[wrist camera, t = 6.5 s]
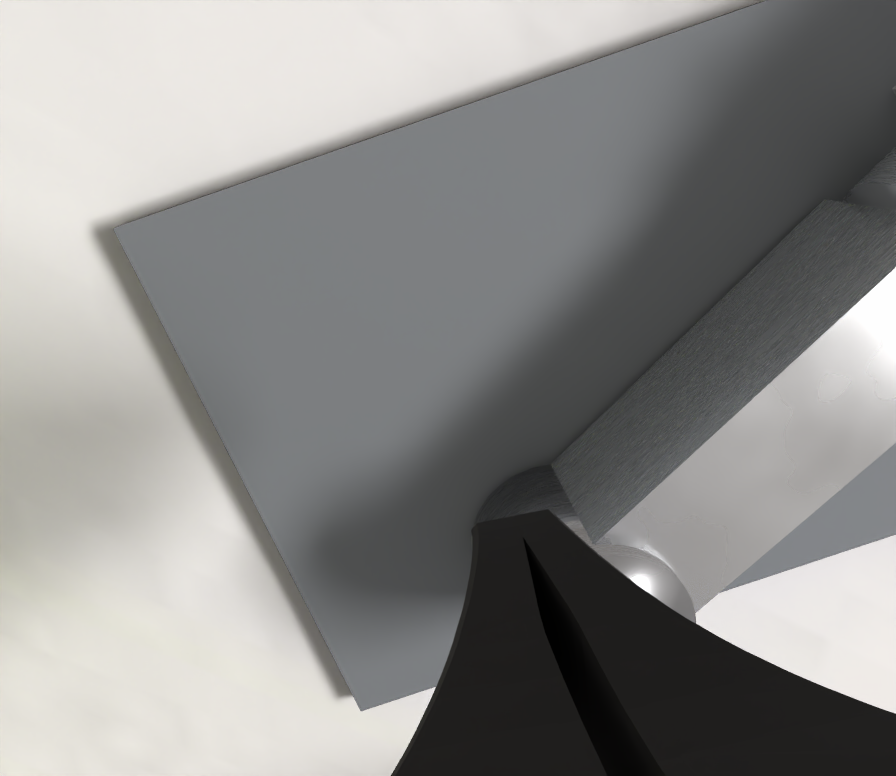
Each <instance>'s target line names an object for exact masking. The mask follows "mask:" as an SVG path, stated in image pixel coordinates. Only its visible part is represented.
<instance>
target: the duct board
mask: <svg viewBox="0 0 896 776" xmlns="http://www.w3.org/2000/svg"><path fill="white" fill-rule="evenodd" d="M895 147H896V0H766V1H763V2H760V3H757V4H754V5H751V6H748V7H746V8H743V9H740V10H737V11H734V12H731V13H728V14H725V15H723V16H720V17H717V18H714V19H711V20H708V21H705V22H702V23H700V24H697V25H694V26H691V27H688V28H685V29H682V30H680V31H677V32H674V33H671V34H668V35H665V36H662V37H659V38H657V39H654V40H651V41H648V42H645V43H642V44H639V45H637V46H634V47H631V48H628V49H625V50H622V51H619V52H616V53H614V54H611V55H608V56H605V57H602V58H599V59H596V60H593V61H591V62H588V63H585V64H582V65H579V66H576V67H573V68H571V69H568V70H565V71H562V72H559V73H556V74H553V75H550V76H548V77H545V78H542V79H539V80H536V81H533V82H530V83H527V84H525V85H522V86H519V87H516V88H513V89H510V90H507V91H505V92H502V93H499V94H496V95H493V96H490V97H487V98H484V99H482V100H479V101H476V102H473V103H470V104H467V105H464V106H462V107H459V108H456V109H453V110H450V111H447V112H444V113H441V114H439V115H436V116H433V117H430V118H427V119H424V120H421V121H418V122H416V123H413V124H410V125H407V126H404V127H401V128H398V129H396V130H393V131H390V132H387V133H384V134H381V135H378V136H375V137H373V138H370V139H367V140H364V141H361V142H358V143H355V144H353V145H350V146H347V147H344V148H341V149H338V150H335V151H332V152H330V153H327V154H324V155H321V156H318V157H315V158H312V159H309V160H307V161H304V162H301V163H298V164H295V165H292V166H289V167H287V168H284V169H281V170H278V171H275V172H272V173H269V174H266V175H264V176H261V177H258V178H255V179H252V180H249V181H246V182H244V183H241V184H238V185H235V186H232V187H229V188H226V189H223V190H221V191H218V192H215V193H212V194H209V195H206V196H203V197H200V198H198V199H195V200H192V201H189V202H186V203H183V204H180V205H178V206H175V207H172V208H169V209H166V210H163V211H160V212H157V213H155V214H152V215H149V216H146V217H143V218H140V219H137V220H134V221H132V222H129V223H126V224H123V225H120V226H118V227H115V228H113V230H114V232H115V234H116V236H117V238H118V240H119V242H120V244H121V245H122V247H123V249H124V251H125V253H126V255H127V257H128V259H129V261H130V263H131V265H132V267H133V269H134V271H135V273H136V275H137V277H138V279H139V281H140V282H141V284H142V286H143V288H144V290H145V292H146V294H147V296H148V298H149V300H150V302H151V304H152V306H153V308H154V310H155V312H156V314H157V316H158V317H159V319H160V321H161V323H162V325H163V327H164V329H165V331H166V333H167V335H168V337H169V339H170V341H171V343H172V345H173V347H174V349H175V351H176V353H177V354H178V356H179V358H180V360H181V362H182V364H183V366H184V368H185V370H186V372H187V374H188V376H189V378H190V380H191V382H192V384H193V386H194V388H195V389H196V391H197V393H198V395H199V397H200V399H201V401H202V403H203V405H204V407H205V409H206V411H207V413H208V415H209V417H210V419H211V421H212V423H213V425H214V426H215V428H216V430H217V432H218V434H219V436H220V438H221V440H222V442H223V444H224V446H225V448H226V450H227V452H228V454H229V456H230V458H231V460H232V461H233V463H234V465H235V467H236V469H237V471H238V473H239V475H240V477H241V479H242V481H243V483H244V485H245V487H246V489H247V491H248V493H249V495H250V497H251V498H252V500H253V502H254V504H255V506H256V508H257V510H258V512H259V514H260V516H261V518H262V520H263V522H264V524H265V526H266V528H267V530H268V532H269V533H270V535H271V537H272V539H273V541H274V543H275V545H276V547H277V549H278V551H279V553H280V555H281V557H282V559H283V561H284V563H285V565H286V567H287V569H288V570H289V572H290V574H291V576H292V578H293V580H294V582H295V584H296V586H297V588H298V590H299V592H300V594H301V596H302V598H303V600H304V602H305V604H306V605H307V607H308V609H309V611H310V613H311V615H312V617H313V619H314V621H315V623H316V625H317V627H318V629H319V631H320V633H321V635H322V637H323V639H324V641H325V642H326V644H327V646H328V648H329V650H330V652H331V654H332V656H333V658H334V660H335V662H336V664H337V666H338V668H339V670H340V672H341V674H342V676H343V677H344V679H345V681H346V683H347V685H348V687H349V689H350V691H351V693H352V695H353V697H354V699H355V701H356V703H357V705H358V707H359V709H360V711H364V710H367V709H370V708H373V707H376V706H379V705H382V704H385V703H388V702H391V701H394V700H397V699H400V698H403V697H406V696H409V695H412V694H415V693H418V692H421V691H424V690H427V689H430V688H433V687H436V686H437V684H438V681H439V679H440V676H441V674H442V671H443V669H444V666H445V663H446V661H447V658H448V655H449V652H450V649H451V646H452V643H453V640H454V636H455V633H456V630H457V626H458V623H459V619H460V616H461V613H462V609H463V605H464V600H465V596H466V591H467V586H468V581H469V576H470V569H471V561H472V544H471V541H472V532H471V530H472V528H473V526H474V523H475V520H476V517H477V515H478V513H479V511H480V509H481V507H482V505H483V504H484V503H485V501H486V500H487V498H488V497H489V496H490V495H491V494H492V493H493V492H494V491H495V490H496V489H497V488H498V487H499V486H500V485H502V484H503V483H504V482H506V481H507V480H509V479H510V478H512V477H513V476H515V475H517V474H519V473H521V472H523V471H526V470H529V469H531V468H535V467H539V466H542V465H549V464H552V463H553V462H554V461H555V460H556V459H557V458H558V457H559V456H560V455H561V454H562V453H563V452H564V451H565V450H566V449H567V448H568V447H569V446H570V445H571V444H572V443H573V442H574V441H575V440H576V439H577V438H578V437H579V436H580V435H582V434H583V433H584V432H585V431H586V430H587V429H588V428H589V427H590V426H591V425H592V424H593V423H594V422H595V421H596V420H597V419H598V418H599V417H600V416H601V415H602V414H603V413H604V412H605V411H606V410H607V409H608V408H609V407H610V406H611V405H613V404H614V403H615V402H616V401H617V400H618V399H619V398H620V397H621V396H622V395H623V394H624V393H625V392H626V391H627V390H628V389H629V388H630V387H631V386H632V385H633V384H634V383H635V382H636V381H637V380H638V379H639V378H640V377H641V376H642V375H644V374H645V373H646V372H647V371H648V370H649V369H650V368H651V367H652V366H653V365H654V364H655V363H656V362H657V361H658V360H659V359H660V358H661V357H662V356H663V355H664V354H665V353H666V352H667V351H668V350H669V349H670V348H671V347H672V346H673V345H675V344H676V343H677V342H678V341H679V340H680V339H681V338H682V337H683V336H684V335H685V334H686V333H687V332H688V331H689V330H690V329H691V328H692V327H693V326H694V325H695V324H696V323H697V322H698V321H699V320H700V319H701V318H702V317H703V316H704V315H706V314H707V313H708V312H709V311H710V310H711V309H712V308H713V307H714V306H715V305H716V304H717V303H718V302H719V301H720V300H721V299H722V298H723V297H724V296H725V295H726V294H727V293H728V292H729V291H730V290H731V289H732V288H733V287H734V286H735V285H737V284H738V283H739V282H740V281H741V280H742V279H743V278H744V277H745V276H746V275H747V274H748V273H749V272H750V271H751V270H752V269H753V268H754V267H755V266H756V265H757V264H758V263H759V262H760V261H761V260H762V259H763V258H764V257H765V256H766V255H767V254H769V253H770V252H771V251H772V250H773V249H774V248H775V247H776V246H777V245H778V244H779V243H780V242H781V241H782V240H783V239H784V238H785V237H786V236H787V235H788V234H789V233H790V232H791V231H792V230H793V229H794V228H795V227H796V226H797V225H798V224H800V223H801V222H802V221H803V220H804V219H805V218H806V217H807V216H808V215H809V214H810V213H811V212H812V211H813V210H814V209H815V208H816V207H817V206H818V205H819V204H820V203H821V202H822V201H823V200H824V199H826V200H833V201H839V202H843V200H844V197H845V195H846V194H847V193H848V192H849V191H850V190H851V189H852V188H853V187H854V186H855V185H856V184H857V183H858V182H859V181H860V180H861V179H862V178H863V177H864V176H865V175H866V174H867V173H869V172H870V171H871V170H872V169H873V168H874V167H875V166H876V165H877V164H878V163H879V162H880V161H881V160H882V159H883V158H884V157H885V156H886V155H887V154H888V153H889V152H890V151H891V150H892V149H893V148H895ZM893 535H896V443H895V444H894V445H892V446H891V447H890V448H889V449H888V450H887V451H885V452H884V453H883V454H882V455H881V456H879V457H878V458H877V459H876V460H875V461H874V462H872V463H871V464H870V465H869V466H868V467H867V468H865V469H864V470H863V471H862V472H861V473H859V474H858V475H857V476H856V477H855V478H854V479H852V480H851V481H850V482H849V483H848V484H847V485H845V486H844V487H843V488H842V489H841V490H840V491H838V492H837V493H836V494H835V495H834V496H832V497H831V498H830V499H829V500H828V501H827V502H825V503H824V504H823V505H822V506H821V507H820V508H818V509H817V510H816V511H815V512H814V513H812V514H811V515H810V516H809V517H808V518H807V519H805V520H804V521H803V522H802V523H801V524H800V525H798V526H797V527H796V528H795V529H794V530H793V531H791V532H790V533H789V534H788V535H787V536H785V537H784V538H783V539H782V540H781V541H780V542H778V543H777V544H776V545H775V546H774V547H773V548H771V549H770V550H769V551H768V552H767V553H765V554H764V555H763V556H762V557H761V558H760V559H758V560H757V561H756V562H755V563H754V564H753V565H751V566H750V567H749V568H748V569H747V570H746V571H744V572H743V573H742V574H741V575H740V576H738V577H737V578H736V579H735V580H734V581H733V582H731V583H730V584H729V585H728V586H727V587H726V588H724V589H723V590H722V591H721V592H723V591H726V590H729V589H732V588H735V587H739V586H742V585H745V584H748V583H751V582H754V581H757V580H760V579H763V578H766V577H769V576H772V575H775V574H778V573H781V572H784V571H787V570H790V569H793V568H796V567H799V566H802V565H805V564H808V563H811V562H814V561H817V560H820V559H823V558H826V557H829V556H832V555H835V554H838V553H841V552H844V551H847V550H850V549H853V548H856V547H859V546H862V545H866V544H869V543H872V542H875V541H878V540H881V539H884V538H887V537H890V536H893Z"/></svg>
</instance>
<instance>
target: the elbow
mask: <svg viewBox="0 0 896 776" xmlns="http://www.w3.org/2000/svg"><path fill="white" fill-rule="evenodd" d="M895 443H896V147H895V148H893V149H892V150H891V151H890V152H889V153H888V154H887V155H886V156H885V157H884V158H883V159H882V160H881V161H880V162H879V163H878V164H877V165H876V166H875V167H874V168H873V169H872V170H871V171H870V172H869V173H867V174H866V175H865V176H864V177H863V178H862V179H861V180H860V181H859V182H858V183H857V184H856V185H855V186H854V187H853V188H852V189H851V190H850V191H849V192H848V193H847V194H846V195H845V197H844V200H843V202H839V201H833V200H826V199H824V200H823V201H822V202H821V203H820V204H819V205H818V206H817V207H816V208H815V209H814V210H813V211H812V212H811V213H810V214H809V215H808V216H807V217H806V218H805V219H804V220H803V221H802V222H801V223H800V224H798V225H797V226H796V227H795V228H794V229H793V230H792V231H791V232H790V233H789V234H788V235H787V236H786V237H785V238H784V239H783V240H782V241H781V242H780V243H779V244H778V245H777V246H776V247H775V248H774V249H773V250H772V251H771V252H770V253H769V254H767V255H766V256H765V257H764V258H763V259H762V260H761V261H760V262H759V263H758V264H757V265H756V266H755V267H754V268H753V269H752V270H751V271H750V272H749V273H748V274H747V275H746V276H745V277H744V278H743V279H742V280H741V281H740V282H739V283H738V284H737V285H735V286H734V287H733V288H732V289H731V290H730V291H729V292H728V293H727V294H726V295H725V296H724V297H723V298H722V299H721V300H720V301H719V302H718V303H717V304H716V305H715V306H714V307H713V308H712V309H711V310H710V311H709V312H708V313H707V314H706V315H704V316H703V317H702V318H701V319H700V320H699V321H698V322H697V323H696V324H695V325H694V326H693V327H692V328H691V329H690V330H689V331H688V332H687V333H686V334H685V335H684V336H683V337H682V338H681V339H680V340H679V341H678V342H677V343H676V344H675V345H673V346H672V347H671V348H670V349H669V350H668V351H667V352H666V353H665V354H664V355H663V356H662V357H661V358H660V359H659V360H658V361H657V362H656V363H655V364H654V365H653V366H652V367H651V368H650V369H649V370H648V371H647V372H646V373H645V374H644V375H642V376H641V377H640V378H639V379H638V380H637V381H636V382H635V383H634V384H633V385H632V386H631V387H630V388H629V389H628V390H627V391H626V392H625V393H624V394H623V395H622V396H621V397H620V398H619V399H618V400H617V401H616V402H615V403H614V404H613V405H611V406H610V407H609V408H608V409H607V410H606V411H605V412H604V413H603V414H602V415H601V416H600V417H599V418H598V419H597V420H596V421H595V422H594V423H593V424H592V425H591V426H590V427H589V428H588V429H587V430H586V431H585V432H584V433H583V434H582V435H580V436H579V437H578V438H577V439H576V440H575V441H574V442H573V443H572V444H571V445H570V446H569V447H568V448H567V449H566V450H565V451H564V452H563V453H562V454H561V455H560V456H559V457H558V458H557V459H556V460H555V461H554V462H553V463H552V464H549V465H542V466H539V467H535V468H531V469H529V470H526V471H523V472H521V473H519V474H517V475H515V476H513V477H512V478H510V479H509V480H507V481H506V482H504V483H503V484H502V485H500V486H499V487H498V488H497V489H496V490H495V491H494V492H493V493H492V494H491V495H490V496H489V497H488V498H487V500H486V501H485V503H484V504H483V505H482V507H481V509H480V511H479V513H478V515H477V517H476V520H475V523H474V526H475V525H476V523H479V522H484V521H489V520H494V519H500V518H505V517H510V516H515V515H520V514H525V513H530V512H535V511H540V510H546V509H549V510H550V511H551V512H553V513H554V514H555V515H556V516H557V517H559V518H560V519H561V520H562V521H563V522H564V523H565V524H566V525H567V526H568V527H569V528H570V529H571V530H572V531H573V532H574V533H575V534H577V535H578V536H579V537H580V538H581V539H582V540H583V541H584V542H585V543H587V544H588V545H589V546H590V547H591V548H592V549H593V550H595V551H596V552H597V553H598V554H599V555H601V556H602V557H603V558H604V559H605V560H607V561H608V562H609V563H610V564H612V565H613V566H614V567H615V568H617V569H618V570H619V571H620V572H622V573H623V574H624V575H625V576H627V577H628V578H629V579H631V580H632V581H633V582H635V583H636V584H637V585H639V586H640V587H641V588H643V589H644V590H645V591H647V592H648V593H650V594H651V595H653V596H654V597H655V598H657V599H658V600H660V601H661V602H663V603H664V604H665V605H667V606H668V607H670V608H671V609H673V610H674V611H676V612H678V613H679V614H681V615H682V616H684V617H685V618H687V619H689V620H690V621H692V622H694V623H696V616H695V613H696V612H697V611H698V610H700V609H701V608H702V607H703V606H704V605H706V604H707V603H708V602H709V601H710V600H711V599H713V598H714V597H715V596H716V595H717V594H718V593H720V592H721V591H722V590H723V589H724V588H726V587H727V586H728V585H729V584H730V583H731V582H733V581H734V580H735V579H736V578H737V577H738V576H740V575H741V574H742V573H743V572H744V571H746V570H747V569H748V568H749V567H750V566H751V565H753V564H754V563H755V562H756V561H757V560H758V559H760V558H761V557H762V556H763V555H764V554H765V553H767V552H768V551H769V550H770V549H771V548H773V547H774V546H775V545H776V544H777V543H778V542H780V541H781V540H782V539H783V538H784V537H785V536H787V535H788V534H789V533H790V532H791V531H793V530H794V529H795V528H796V527H797V526H798V525H800V524H801V523H802V522H803V521H804V520H805V519H807V518H808V517H809V516H810V515H811V514H812V513H814V512H815V511H816V510H817V509H818V508H820V507H821V506H822V505H823V504H824V503H825V502H827V501H828V500H829V499H830V498H831V497H832V496H834V495H835V494H836V493H837V492H838V491H840V490H841V489H842V488H843V487H844V486H845V485H847V484H848V483H849V482H850V481H851V480H852V479H854V478H855V477H856V476H857V475H858V474H859V473H861V472H862V471H863V470H864V469H865V468H867V467H868V466H869V465H870V464H871V463H872V462H874V461H875V460H876V459H877V458H878V457H879V456H881V455H882V454H883V453H884V452H885V451H887V450H888V449H889V448H890V447H891V446H892V445H894V444H895ZM474 526H473V527H474ZM471 544H472V550H473V539H472V541H471Z"/></svg>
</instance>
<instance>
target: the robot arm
mask: <svg viewBox="0 0 896 776" xmlns="http://www.w3.org/2000/svg"><path fill="white" fill-rule="evenodd" d="M471 532H472V539H473V550H472V561H471V569H470V576H469V581H468V586H467V591H466V596H465V600H464V605H463V609H462V613H461V616H460V619H459V623H458V626H457V630H456V633H455V636H454V640H453V643H452V646H451V649H450V652H449V655H448V658H447V661H446V663H445V666H444V669H443V671H442V674H441V676H440V679H439V681H438V684H437V686H436V688H435V691H434V693H433V696H432V698H431V700H430V702H429V704H428V706H427V708H426V711H425V713H424V715H423V717H422V719H421V721H420V723H419V725H418V728H417V730H416V732H415V734H414V735H413V737H412V739H411V741H410V743H409V745H408V747H407V749H406V751H405V753H404V754H403V756H402V758H401V759H400V761H399V763H398V765H397V766H396V768H395V770H394V771H393V773H392V775H391V776H896V714H895V713H892V712H889V711H886V710H883V709H880V708H877V707H875V706H872V705H869V704H867V703H864V702H862V701H859V700H856V699H854V698H851V697H849V696H846V695H844V694H841V693H838V692H836V691H833V690H831V689H828V688H826V687H823V686H821V685H818V684H816V683H814V682H811V681H809V680H807V679H804V678H802V677H800V676H797V675H795V674H793V673H791V672H788V671H786V670H784V669H782V668H780V667H778V666H776V665H774V664H771V663H769V662H767V661H765V660H763V659H761V658H759V657H757V656H755V655H753V654H751V653H749V652H746V651H744V650H742V649H741V648H739V647H737V646H735V645H733V644H731V643H729V642H727V641H725V640H723V639H722V638H720V637H718V636H716V635H715V634H713V633H711V632H709V631H708V630H706V629H704V628H702V627H701V626H699V625H697V624H696V623H694V622H692V621H690V620H689V619H687V618H685V617H684V616H682V615H681V614H679V613H678V612H676V611H674V610H673V609H671V608H670V607H668V606H667V605H665V604H664V603H663V602H661V601H660V600H658V599H657V598H655V597H654V596H653V595H651V594H650V593H648V592H647V591H645V590H644V589H643V588H641V587H640V586H639V585H637V584H636V583H635V582H633V581H632V580H631V579H629V578H628V577H627V576H625V575H624V574H623V573H622V572H620V571H619V570H618V569H617V568H615V567H614V566H613V565H612V564H610V563H609V562H608V561H607V560H605V559H604V558H603V557H602V556H601V555H599V554H598V553H597V552H596V551H595V550H593V549H592V548H591V547H590V546H589V545H588V544H587V543H585V542H584V541H583V540H582V539H581V538H580V537H579V536H578V535H577V534H575V533H574V532H573V531H572V530H571V529H570V528H569V527H568V526H567V525H566V524H565V523H564V522H563V521H562V520H561V519H560V518H559V517H557V516H556V515H555V514H554V513H553V512H551V511H550V510H549V509H546V510H540V511H535V512H530V513H525V514H520V515H515V516H510V517H505V518H500V519H494V520H489V521H484V522H479V523H476V525H475V526H474V527H473V528H472V530H471Z"/></svg>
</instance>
